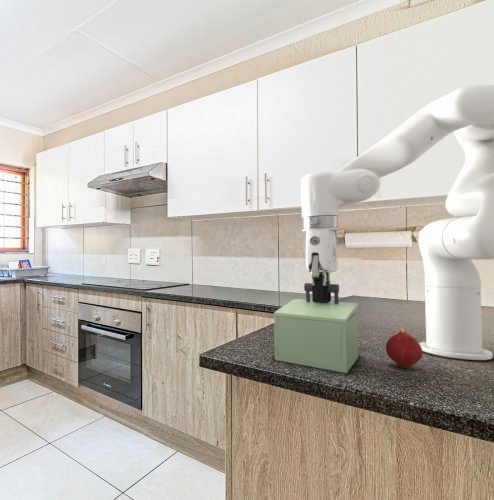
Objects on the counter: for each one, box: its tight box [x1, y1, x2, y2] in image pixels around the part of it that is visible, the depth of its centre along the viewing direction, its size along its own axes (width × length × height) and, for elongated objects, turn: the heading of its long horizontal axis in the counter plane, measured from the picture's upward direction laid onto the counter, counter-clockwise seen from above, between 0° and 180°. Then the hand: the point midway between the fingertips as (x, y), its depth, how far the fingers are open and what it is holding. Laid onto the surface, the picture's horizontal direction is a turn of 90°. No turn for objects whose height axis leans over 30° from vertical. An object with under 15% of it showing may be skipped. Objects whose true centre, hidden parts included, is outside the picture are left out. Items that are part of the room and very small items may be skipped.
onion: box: [385, 328, 423, 369], centre depth 71 cm, size 6×6×8 cm
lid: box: [273, 282, 359, 323], centre depth 79 cm, size 15×14×5 cm
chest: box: [273, 313, 359, 374], centre depth 78 cm, size 15×14×10 cm
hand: (321, 301), depth 82 cm, fingers closed on lid, 2 cm apart
